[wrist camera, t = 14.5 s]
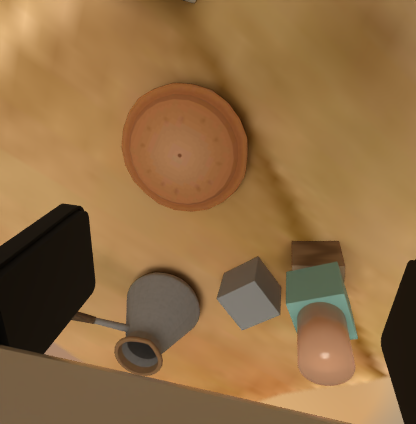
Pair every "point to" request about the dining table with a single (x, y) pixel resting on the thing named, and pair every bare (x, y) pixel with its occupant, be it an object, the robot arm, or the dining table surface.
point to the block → (250, 294)
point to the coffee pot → (151, 321)
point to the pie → (185, 147)
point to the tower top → (318, 291)
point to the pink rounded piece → (324, 344)
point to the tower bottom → (316, 254)
